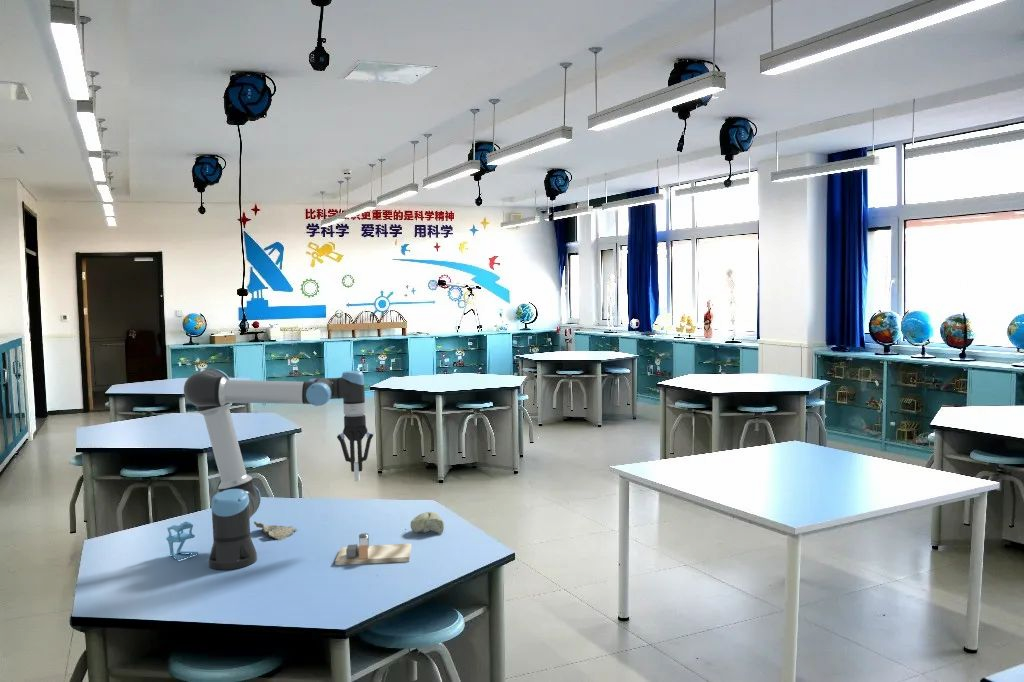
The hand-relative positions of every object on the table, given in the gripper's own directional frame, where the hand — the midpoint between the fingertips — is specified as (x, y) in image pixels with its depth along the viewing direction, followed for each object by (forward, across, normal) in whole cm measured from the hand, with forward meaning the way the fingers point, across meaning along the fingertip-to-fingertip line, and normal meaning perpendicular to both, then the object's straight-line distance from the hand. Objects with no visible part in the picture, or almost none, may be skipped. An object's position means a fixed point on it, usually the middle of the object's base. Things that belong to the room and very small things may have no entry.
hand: (357, 480), depth 272 cm
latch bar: (+21, +4, -16) cm, 27 cm away
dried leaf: (+23, -33, +16) cm, 43 cm away
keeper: (+21, 0, -19) cm, 28 cm away
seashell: (+23, +24, +8) cm, 34 cm away
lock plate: (+22, +7, -16) cm, 28 cm away
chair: (+23, -60, -6) cm, 64 cm away
